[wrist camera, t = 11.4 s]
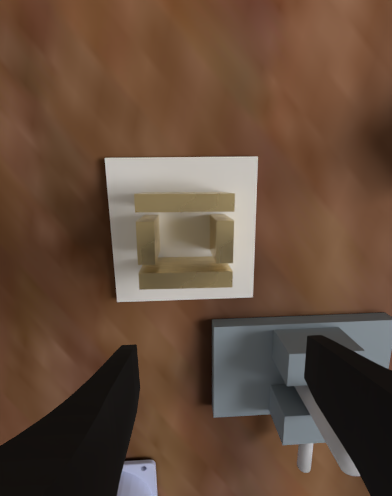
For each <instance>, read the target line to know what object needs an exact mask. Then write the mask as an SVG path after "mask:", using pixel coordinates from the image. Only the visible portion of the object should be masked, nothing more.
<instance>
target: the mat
mask: <svg viewBox="0 0 392 496" xmlns="http://www.w3.org/2000/svg"><path fill="white" fill-rule="evenodd" d="M257 167H258V156H256V157H154V158H105V168H106V180H107V191H108V203H109V214H110V226H111V237H112V248H113V260H114V271H115V283H116V294H117V302H134V301H162V300H190V299H218V298H246V297H253V278H254V251H255V223H256V195H257ZM143 192H229V193H235V210H234V212H144V213H135V203H134V194H137V193H143ZM210 214H225V215H227V216H228V217H230V218H231V219H233V220H234V246H233V263H228V264H229V266H230V268H231V269H232V271H233V282H232V287H228V288H186V289H145V290H139V275H138V273H139V271H140V269H141V267H142V265H138V257H137V239H136V221H137V220H138V219H140V218H141V217H142V216H143V215H159V232H160V252H159V256H158V257H207V256H212V254H211V251H210Z"/></svg>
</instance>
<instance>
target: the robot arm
mask: <svg viewBox="0 0 392 496" xmlns="http://www.w3.org/2000/svg"><path fill="white" fill-rule="evenodd" d="M304 379H305V381H306V383H307V385H308V388H309V390H310V392H311V394H312V396H313V398H314V400H315V402H316V404H317V405H318V407H319V409H320V410H321V412H322V413H323V415H324V417H325V418H326V420H327V422H328V423H329V425H330V426H331V428H332V429H333V431H334V433H335V434H336V436H337V437H338V439H339V441H340V442H341V444H342V445H343V447H344V448H345V450H346V452H347V453H348V455H349V456H350V458H351V460H352V462H353V463H354V465H355V467H356V468H357V470H358V472H359V474H360V476H361V478H362V480H363V481H364V483H365V485H366V487H367V489H368V491H369V493H370V495H371V496H392V371H391V370H389V369H387V368H385V367H383V366H381V365H379V364H377V363H375V362H373V361H371V360H369V359H367V358H365V357H363V356H362V355H360V354H358V353H356V352H354V351H352V350H350V349H348V348H347V347H345V346H343V345H341V344H339V343H337V342H335V341H333V340H331V339H329V338H327V337H325V336H323V335H310V336H307V345H306V358H305V371H304ZM139 391H140V381H139V369H138V357H137V345H122V346H121V347H120V348H119V349H118V350H117V351H116V352H115V353H114V354H113V355H112V356H111V357H110V358H109V359H108V360H107V361H106V362H105V363H104V365H103V366H102V367H101V368H100V369H99V370H98V371H97V372H96V373H95V374H94V375H93V376H92V377H91V378H90V379H89V380H88V381H87V382H86V383H84V384H83V385H82V386H81V387H80V388H79V389H78V390H77V391H76V392H75V393H74V394H72V395H71V396H70V397H69V398H68V399H67V400H65V401H64V402H63V403H62V404H60V405H59V406H58V407H57V408H55V409H54V410H53V411H51V412H50V413H49V414H47V415H46V416H45V417H43V418H42V419H40V420H39V421H38V422H36V423H35V424H33V425H32V426H30V427H29V428H27V429H26V430H24V431H23V432H22V433H20V434H19V435H17V436H16V437H14V438H12V439H11V440H9V441H8V442H6V443H4V444H3V445H1V446H0V496H158V494H157V478H156V463H155V461H153V460H134V461H125V457H126V453H127V449H128V445H129V441H130V437H131V434H132V429H133V425H134V421H135V417H136V413H137V407H138V399H139Z"/></svg>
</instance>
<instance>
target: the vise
mask: <svg viewBox="0 0 392 496" xmlns="http://www.w3.org/2000/svg"><path fill="white" fill-rule="evenodd" d="M310 335H323V336H325V337H327V338H329V339H331V340H333V341H335V342H337V343H339V344H341V345H343V346H345V347H347V348H348V349H350V350H352V351H354V352H356V353H358V354H360V355H362V356H363V357H365V358H367V359H369V360H371V361H373V362H375V363H377V364H379V365H381V366H383V367H385V368H387V369H388V368H389V362H390V356H391V350H392V317H391V316H390V315H388V314H386V313H361V314H336V315H311V316H285V317H260V318H235V319H212V409H213V416H214V417H231V416H249V415H266V414H271V416H272V419H273V421H274V424H275V427H276V429H277V432H278V434H279V437H280V439H281V442H282V444H283V445H292V444H299V448H298V459H297V466H298V468H299V469H300V470H301V471H302V472H305V473H307V472H309V471H310V470H311V460H312V451H313V443H324V442H326V443H327V445H328V447H329V449H330V451H331V452H332V454H333V456H334V458H335V459H336V461H337V463H338V465H339V466H340V468H341V470H342V471H343V472H344V473H346V474H348V475H351V476H360V474H359V472H358V470H357V468H356V467H355V465H354V463H353V462H352V460H351V458H350V456H349V455H348V453H347V452H346V450H345V448H344V447H343V445H342V444H341V442H340V441H339V439H338V437H337V436H336V434H335V433H334V431H333V429H332V428H331V426H330V425H329V423H328V422H327V420H326V418H325V417H324V415H323V413H322V412H321V410H320V409H319V407H318V405H317V404H316V402H315V400H314V398H313V396H312V394H311V392H310V390H309V388H308V385H307V383H306V381H305V379H304V371H305V358H306V345H307V336H310Z"/></svg>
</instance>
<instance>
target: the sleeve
mask: <svg viewBox="0 0 392 496" xmlns="http://www.w3.org/2000/svg"><path fill="white" fill-rule="evenodd" d="M134 203H135V213H144V212H234V210H235V193H229V192H143V193H137V194H134ZM136 239H137V257H138V265H142V267H141V269H140V271H139V273H138V275H139V290H145V289H186V288H228V287H232V282H233V271H232V269H231V268H230V266H229V264H228V263H233V246H234V220H233V219H231V218H230V217H228V216H227V215H225V214H210V251H211V254H212V256H207V257H158V256H159V252H160V232H159V215H143V216H142V217H141V218H140V219H138V220H137V221H136Z"/></svg>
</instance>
